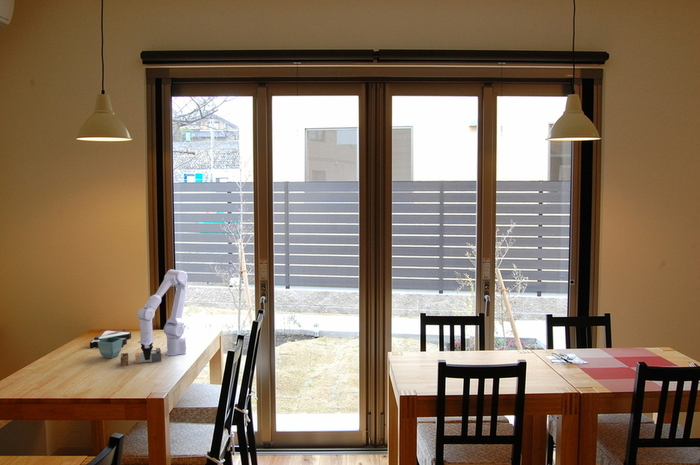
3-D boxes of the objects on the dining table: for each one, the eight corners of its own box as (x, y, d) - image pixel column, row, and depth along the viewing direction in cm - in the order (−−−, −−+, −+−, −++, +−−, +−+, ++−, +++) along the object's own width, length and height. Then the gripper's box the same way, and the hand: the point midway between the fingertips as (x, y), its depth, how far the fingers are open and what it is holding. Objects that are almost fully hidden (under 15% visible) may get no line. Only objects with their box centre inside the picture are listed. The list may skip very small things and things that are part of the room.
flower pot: (112, 360, 269) (112, 342, 268) (97, 358, 270) (96, 341, 270) (123, 354, 277) (123, 338, 277) (108, 353, 279) (108, 337, 278)
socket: (128, 361, 266) (128, 352, 266) (128, 365, 260) (127, 356, 260) (121, 362, 265) (121, 353, 265) (121, 366, 259) (120, 357, 258)
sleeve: (160, 357, 272) (160, 347, 271) (161, 361, 266) (161, 350, 266) (151, 359, 270) (151, 348, 270) (151, 362, 264) (151, 351, 264)
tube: (160, 358, 271) (160, 350, 270) (161, 360, 267) (161, 352, 267) (135, 360, 266) (135, 352, 266) (135, 363, 262) (135, 355, 262)
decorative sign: (87, 344, 286) (101, 330, 315) (88, 350, 286) (101, 336, 315) (123, 342, 289) (133, 328, 319) (124, 348, 290) (133, 334, 319)
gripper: (137, 329, 271) (138, 355, 272) (137, 336, 257) (138, 363, 258) (152, 327, 273) (153, 353, 274) (153, 334, 260) (154, 361, 261)
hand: (147, 358), depth 266 cm, fingers closed on tube, 4 cm apart
